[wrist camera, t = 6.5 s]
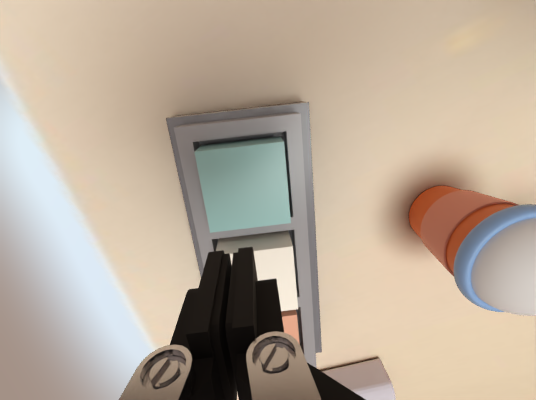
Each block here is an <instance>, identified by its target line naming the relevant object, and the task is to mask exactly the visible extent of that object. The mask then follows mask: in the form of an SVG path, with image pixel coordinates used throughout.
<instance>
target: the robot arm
mask: <svg viewBox="0 0 536 400" xmlns="http://www.w3.org/2000/svg"><path fill="white" fill-rule="evenodd" d="M237 392H238V397H239V400H366V399H364V398H363V397H361V396H359V395H358V394H356V393H355V392H353V391H351V390H350V389H348V388H347V387H345V386H344V385H342V384H340V383H339V382H337V381H336V380H334V379H333V378H331V377H329V376H328V375H326V374H325V373H323V372H322V371H320V370H318V369H317V368H315V367H314V366H312V365H310V364H309V363H307V361H306V359H305V356H304V354H303V351H302V349H301V346H300V345H299V343H298V341H297V340H296V339H295V338H294V337H292V336H291V335H289V334H287V333H284V327H283V320H282V313H281V306H280V300H279V293H278V286H277V279H276V278H275V279H267V280H259V281H258V279H257V272H256V264H255V257H254V251H253V247H245V248H238V252H236V253H233V259H232V264H231V258H230V254H229V253H228V254H225V253H224V251H223V250H221V251H213V252H208V255H207V259H206V263H205V266H204V270H203V274H202V277H201V281H200V285H199V288H196V289H189V290H188V292H187V294H186V297H185V300H184V303H183V306H182V309H181V312H180V315H179V318H178V321H177V325H176V328H175V331H174V334H173V337H172V340H171V343H170V345H168V346H164V347H162V348H159V349H157V350H155V351H154V352H152V353H150V354H149V355H148V356H147V357H146V358H145V359H144V360H143V361H142V362H141V363H140V365H139V366H138V367H137V369H136V371H135V373H134V374H133V376H132V378H131V380H130V381H129V383H128V385H127V386H126V388H125V390H124V392H123V393H122V395H121V397H120V398H119V400H237Z"/></svg>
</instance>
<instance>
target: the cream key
mask: <svg viewBox="0 0 536 400" xmlns="http://www.w3.org/2000/svg"><path fill="white" fill-rule="evenodd" d="M245 247H253V251H254V257H255V264H256V272H257V279H258V281H259V280H267V279H275V278H276V279H277V286H278V293H279V300H280V306H281V311H288V310H296V309H298V301H297V289H296V278H295V266H294V254H293V245H292V241H291V238H290V234H289V231H288V230H286V231H278V232H269V233H261V234H253V235H244V236H236V237H228V238H219V239H218V244H217V248H216V251H221V250H223V251H224V253H225V254H228V253H229V254H230V258H231V264H232V259H233V253H236V252H238V248H245Z"/></svg>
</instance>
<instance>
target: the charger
mask: <svg viewBox="0 0 536 400" xmlns="http://www.w3.org/2000/svg"><path fill="white" fill-rule="evenodd" d="M322 372H323V373H325V374H326V375H328V376H329V377H331V378H333V379H334V380H336V381H337V382H339V383H340V384H342V385H344V386H345V387H347V388H348V389H350V390H351V391H353V392H355V393H356V394H358V395H359V396H361V397H363V398H364V399H366V400H396V398H395V392H394V388H393V385H392V382H391V380H390V378H389V376H388V374H387V372H386V370H385V368H384V366H383V364H382V362H381V360H380V358H378V359H374V360H369V361H365V362H360V363H356V364H352V365H347V366H343V367H338V368H334V369H330V370H325V371H322Z"/></svg>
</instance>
